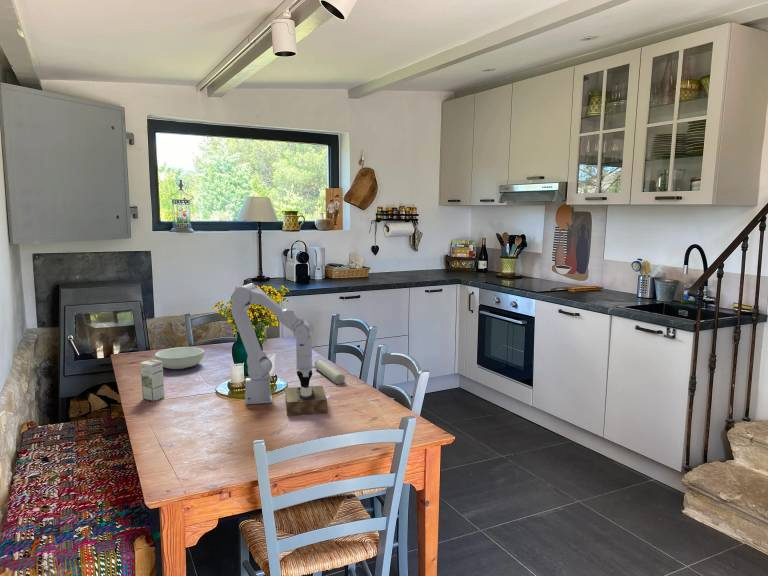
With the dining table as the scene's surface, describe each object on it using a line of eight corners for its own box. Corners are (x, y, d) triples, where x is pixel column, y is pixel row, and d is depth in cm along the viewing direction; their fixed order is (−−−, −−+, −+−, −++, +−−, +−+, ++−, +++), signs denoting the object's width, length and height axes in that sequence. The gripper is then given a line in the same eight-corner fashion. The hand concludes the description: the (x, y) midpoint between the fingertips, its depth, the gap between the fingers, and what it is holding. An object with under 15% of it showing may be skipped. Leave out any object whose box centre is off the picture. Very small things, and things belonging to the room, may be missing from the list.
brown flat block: (287, 415, 203) (286, 401, 202) (285, 400, 218) (285, 387, 217) (327, 413, 205) (326, 398, 205) (322, 398, 221) (322, 384, 220)
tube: (348, 375, 238) (326, 359, 260) (337, 372, 235) (316, 357, 257) (345, 387, 238) (323, 371, 260) (333, 385, 236) (312, 368, 258)
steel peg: (301, 403, 205) (300, 389, 204) (300, 399, 209) (300, 386, 208) (312, 402, 206) (312, 389, 205) (311, 398, 210) (311, 385, 209)
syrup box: (165, 397, 221) (163, 360, 219) (153, 402, 216) (151, 364, 214) (154, 395, 224) (152, 358, 222) (141, 399, 219) (139, 362, 216)
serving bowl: (214, 364, 266) (213, 350, 265) (176, 376, 248) (175, 360, 247) (184, 358, 277) (183, 344, 276) (145, 368, 259) (144, 353, 258)
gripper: (316, 359, 207) (317, 395, 209) (313, 349, 221) (314, 383, 223) (296, 360, 205) (297, 397, 207) (294, 350, 219) (295, 384, 221)
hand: (304, 390), depth 215 cm, fingers closed, pressing on brass peg
